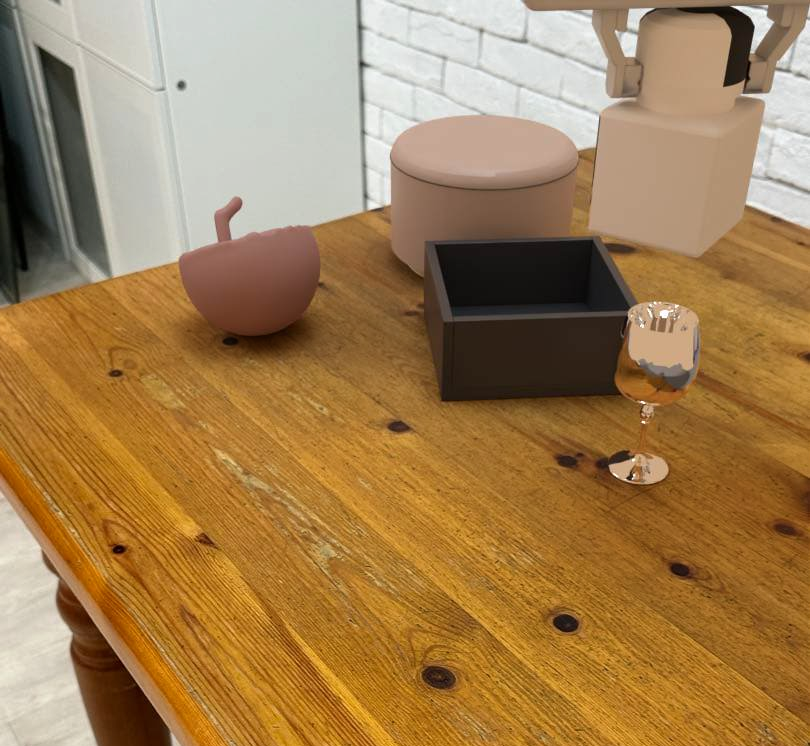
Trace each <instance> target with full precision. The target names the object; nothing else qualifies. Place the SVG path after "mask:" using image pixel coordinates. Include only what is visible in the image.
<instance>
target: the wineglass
mask: <svg viewBox="0 0 810 746" xmlns="http://www.w3.org/2000/svg"><path fill="white" fill-rule="evenodd" d="M700 361H701V329H700V320H699V317H698V314H697V313H695V312H694V311H693V310H691V309H690V308H688V307H685V306H684V305H680V304H677V303H673V302H667V301H647V302H641V303H638V305H635V306H633V307H632V308H631V309H630V310H629V311H628V313H627V316H626V318H625V320H624V322H623V324H622V327H621V330H620V332H619V335H618V338H617V341H616V345H615V349H614V353H613V359H612V373H613V379H614V382H615V384H616V386H617V388H618V389H619V391H620V392H621V393H622V394H621V395H622V396H624V397H625V398H626V399H628V400H629V401H631V402H632V403H635V404H638V405H641V406H640V410H639V413H638V414H639V415H638V417H639V422H640V423H639V425H640V427H639V428H640V429H639V430H640V431H639V436H638V437H639V438H638V443H637V447H636V449H635V448H634V449H633V448H632V449H623V450H620V451H619V450H618V451H617V452H614V453H612V455H610V456H609V458H608V459H607V462H606V466H607V467H606V468H607V469H608V472H609V473H610V474H611V475H613V477H615V478H616V479H618V480H621V481H622V482H625V483H628V484H632V485H642V486H646V485H652V484H653V485H654V484H657V483H660V482H662V481H664V480H665V479H666V477H667V476H668V475H669V473H670V468H669V465H668V463H667V462H666V460H665V459H664V458H663V457H662V456H660V455H658V454H656V453H653V452H651V451H648V450H645V448H646V447H645V446H646V445H645V444H646V440H647V435H648V430H649V428H650V425H651V423H652V422H653V420H654V417H655V407H664V406H668V405H671V404H674V403H676V402H678V401H680V400H681V399H683V398H684V397H685V396H686V395H687V394H688V393H689V392H690V391H691V389H692V388H693V386H694V384H695V381H696V378H697V376H698V373H699V367H700Z"/></svg>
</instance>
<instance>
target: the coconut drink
mask: <svg viewBox="0 0 810 746" xmlns="http://www.w3.org/2000/svg"><path fill="white" fill-rule="evenodd" d="M243 203H244V202H243V199H242V197H240V196H236V195H235V196H234V197H232V198H231V199H230V201H229V202H228V203H227V204H226V205H224V207H222V208H220V209H217V210H216V211H215V212H214V215H213V220H214V226H215V232H216V238H217V242H215V243H211V244H207V245H205V246H201V247H198V248H195V249H193V250H191V251H186V252H184V253H182V254H181V255H180V256H179V258H178V263H177V264H178V270H179V275H180V279H181V282H182V286H183V288H184V292H185V293H186V296H187V297H188V299H189V300H190V303H191V304H192V305H193V307H194V308H195V310H197V312H198V313H199V314H201V316H202V317H203V318H204V319H205V320H207V321H208V322H209V323H211V324H212V325H214V326H216V327H217V328H219V329H221V330H223V331H225V332H228V333H232V334H234V335H239V336H246V337H247V336H248V337H258V336H259V337H261V336H265V335H270V334H274V333H277V332H279V331H281V330H284V329H285V328H287V327H289V326H290V325H292V324H293V323H294V322H296V321H297V320H298V319H299V318H300V317H302V315H303V314H304V313H305V312H306V310H307V309H308V308H309V306H310V305H311V303H312V302H313V299H314V297H315V295H316V293H317V289H318V287H319V282H320V277H321V254H320V249H319V246H318V242H317V240H316V237H315V235H314V233H313V230H312V229H311V226H310V225H306V224H303V225H301V224H298V225H295V226H293V225H287V226H285V227H277V228H272V229H271V228H270V229H269V230H264V231H261V232H257V231H251V232H249V233H247V234H246V235H244V236H240V237H239V238H232V233H231V227H230V221H231V220H232V218H234V216H235V215H236V214H237V213H238V212H240V210H241V209H242V207H243Z"/></svg>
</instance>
